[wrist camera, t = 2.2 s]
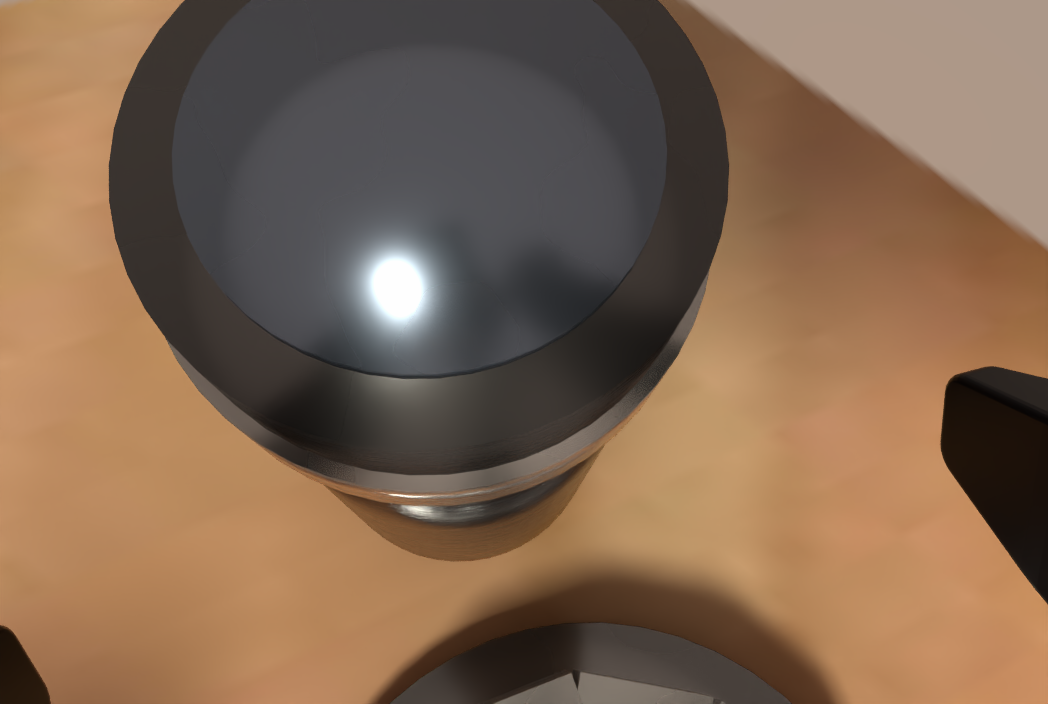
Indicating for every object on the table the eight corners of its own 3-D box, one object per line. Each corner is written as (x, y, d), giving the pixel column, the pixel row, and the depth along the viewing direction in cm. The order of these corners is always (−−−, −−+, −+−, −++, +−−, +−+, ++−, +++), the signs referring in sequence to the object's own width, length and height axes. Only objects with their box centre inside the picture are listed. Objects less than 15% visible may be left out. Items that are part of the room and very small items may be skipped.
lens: (574, 592, 18) (713, 526, 7) (292, 541, 18) (-19, 393, 7) (614, 327, 20) (776, -66, 9) (359, 281, 20) (197, -164, 9)
